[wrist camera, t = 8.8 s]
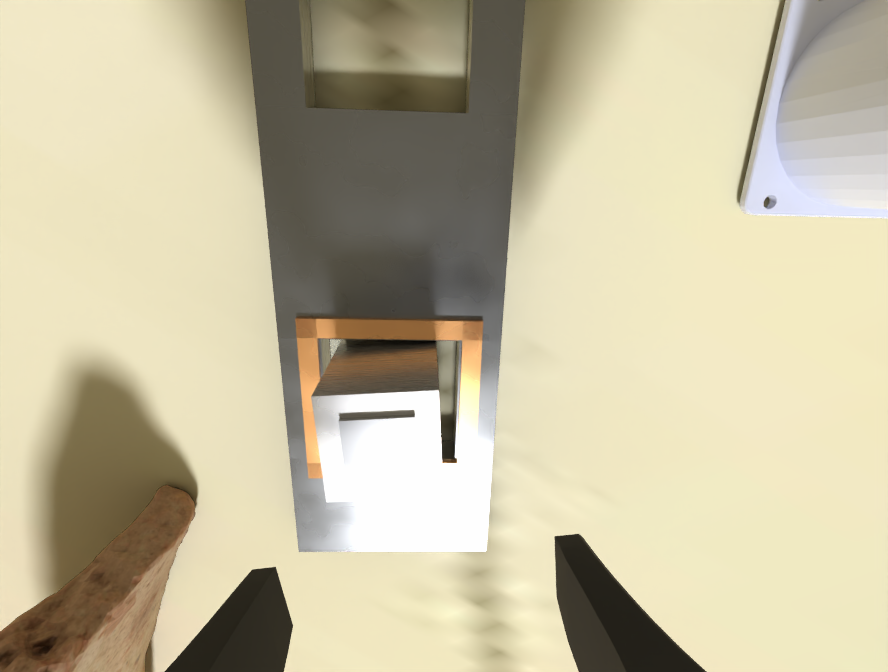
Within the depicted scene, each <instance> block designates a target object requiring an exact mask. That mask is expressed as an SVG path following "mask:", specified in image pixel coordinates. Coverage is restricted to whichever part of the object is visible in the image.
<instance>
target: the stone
mask: <svg viewBox="0 0 888 672" xmlns="http://www.w3.org/2000/svg"><path fill="white" fill-rule="evenodd" d="M194 516H195V504H194V501H193V500H192V498H191V497H190V496H189V494H188V493H186V492H185V491H183V490H181V489H176V488H173V487H171V486H168V485H165V486H162V487H160V488H159V489H158V490H157V492H156V494H155V496H154V497H153V499H152V501H151V502H150V503H149V504H148V506H147V507H146V508H145V509H144V510H143V512H142V513H141V514H140V515H139V516H138V517H137V518H136V520H135V521H134V522H133V523H132V524H131V525H130V526H129V527H128V528H127V529H126V530H125V531H123V532H122V533H121V534H120V535H118V536H117V537H116V538H115V539H114V540H113V541H112V542H111V543H110V544H109V545H107V546H106V547H105V548H104V549H103V550H102V551H101V552H100V553H99V554H98V555H97V556H96V558H95V559H94V561H93V562H92V563H91V564H90V565H89V566H88V567H87V568H85V569H84V570H83V571H82V572H81V573H80V574H78V575H77V576H76V577H75V578H73V579H72V580H71V581H70V582H69V583H68V584H66V585H65V586H64V587H63V588H62V589H61V590H59V591H58V592H57V593H55V594H53V595H51V596H49V597H47V598H46V599H44V600H43V601H42V602H40V603H39V604H37V605H36V606H34V607H33V608H31V609H30V610H28V611H27V612H25V613H23V614H22V615H20V616H19V617H17V618H16V619H15V620H14V621H13V622H12V623H11V624H9V625H8V626H7V627H6V628H4V629H3V630H2V631H1V632H0V672H145V654H146V651H147V648H148V645H149V642H150V640H151V637H152V635H153V632H154V630H155V626H156V621H157V615H158V612H159V609H160V605H161V598H162V596H163V594H164V591H165V586H166V582H167V580H168V579H169V577H168V576H169V571H170V568H171V566H172V564H173V562H174V558H175V557H176V552H177V549H178V547H179V546H180V544H181V543H182V540H183V538H184V536H185V535H186V533H187V532H188V528H189V525H190V523H191V521H192V520H193V518H194Z"/></svg>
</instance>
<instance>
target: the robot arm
mask: <svg viewBox="0 0 888 672" xmlns="http://www.w3.org/2000/svg"><path fill="white" fill-rule="evenodd" d="M767 197H769V198H770V202H769V204H768V206H767V207H764V200H765V198H767ZM740 208H741V211H743V212H744V213H746V214H751V215H780V216H819V217H858V218H888V0H819V1H818V0H785V5H784V9H783V14H782V18H781V22H780V27H779V31H778V36H777V40H776V44H775V49H774V53H773V58H772V62H771V66H770V71H769V75H768V80H767V84H766V88H765V93H764V97H763V102H762V106H761V110H760V115H759V119H758V124H757V128H756V132H755V137H754V141H753V146H752V150H751V154H750V159H749V163H748V168H747V172H746V176H745V181H744V185H743V190H742V194H741V198H740ZM555 560H556V589H557V600H558V604H559V608H560V612H561V616H562V620H563V624H564V628H565V631H566V635H567V639H568V642H569V645H570V648H571V651H572V654H573V657H574V659H575V662H576V665H577V668H578V670H579V672H706V671H705V670H704V669H703V668H702V667H701V666H699V665H698V664H697V663H696V662H695V661H694V660H693V659H692V658H691V657H690V656H689V655H688V654H687V653H685V652H684V651H683V650H682V649H681V648H680V647H679V646H678V645H677V644H676V643H675V642H674V641H673V640H672V639H671V638H670V637H669V636H668V635H667V634H666V633H665V632H664V631H663V630H662V629H661V628H660V627H659V626H658V625H657V624H656V623H655V622H654V621H653V620H652V619H651V618H650V616H649V615H648V614H647V613H646V612H645V611H644V610H643V609H642V608H641V607H640V606H639V605H638V603H637V602H636V601H635V600H634V599H633V598H632V597H631V596H630V595H629V594H628V592H627V591H626V590H625V589H624V588H623V587H622V586H621V584H620V583H619V582H618V581H617V580H616V579H615V578H614V576H613V575H612V574H611V573H610V571H609V570H608V569H607V568H606V567H605V565H604V564H603V563H602V562H601V560H600V559H599V558H598V557H597V555H596V554H595V553H594V552H593V550H592V549H591V548H590V546H589V545H588V544H587V542H586V541H585V540H584V538H583V537H582V536H580V535H579V534H573V535H564V536H555ZM292 628H293V624H292V621H291V618H290V614H289V611H288V607H287V604H286V601H285V597H284V594H283V590H282V587H281V584H280V580H279V577H278V573H277V570H276V567H272V568H263V569H254V570H252V571H251V572H250V573H249V574H248V575H247V576H246V578H245V579H244V580H243V581H242V582H241V583H240V585H239V586H238V587H237V588H236V589H235V591H234V592H233V593H232V594H231V595H230V597H229V598H228V599H227V600H226V601H225V603H224V604H223V605H222V606H221V607H220V609H219V610H218V611H217V612H216V613H215V614H214V616H213V617H212V618H211V619H210V620H209V622H208V623H207V624H206V625H205V626H204V627H203V629H202V630H201V631H200V632H199V633H198V634H197V636H196V637H195V638H194V639H193V640H192V641H191V643H190V644H189V645H188V646H187V647H186V648H185V650H184V651H183V652H182V653H181V654H180V655H179V656H178V658H177V659H176V660H175V661H174V662H173V663H172V664H171V665H170V666H169V667H168V668H167V670H166V671H165V672H284V668H285V663H286V658H287V654H288V649H289V644H290V638H291V633H292Z"/></svg>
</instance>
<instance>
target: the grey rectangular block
mask: <svg viewBox="0 0 888 672" xmlns="http://www.w3.org/2000/svg"><path fill="white" fill-rule="evenodd" d="M311 400H312V407H313V413H314V420H315V427H316V434H317V441H318V448H319V455H320V462H321V468H322V475H323V482H324V489H325V496H326V502H342V501H361V500H380V499H399V498H418V497H436V496H443V474H442V451H441V428H440V405H439V384H438V366H437V348H436V341H429V340H357V339H342V341H341V343H340V344H339V346H338V348H337V350H336V352H335V354H334V355H333V357H332V359H331V361H330V363H329V365H328V366H327V368H326V370H325V372H324V374H323V376H322V377H321V379H320V381H319V383H318V385H317V387H316V388H315V390H314V392H313V394H312V396H311Z"/></svg>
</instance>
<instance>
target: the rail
mask: <svg viewBox="0 0 888 672" xmlns="http://www.w3.org/2000/svg"><path fill="white" fill-rule="evenodd" d="M245 2H246V12H247V22H248V33H249V43H250V53H251V64H252V74H253V84H254V95H255V105H256V115H257V126H258V136H259V146H260V156H261V167H262V177H263V187H264V198H265V208H266V218H267V229H268V239H269V249H270V260H271V270H272V280H273V290H274V301H275V311H276V321H277V332H278V342H279V352H280V363H281V373H282V383H283V394H284V404H285V414H286V424H287V435H288V445H289V455H290V466H291V476H292V486H293V497H294V507H295V517H296V528H297V538H298V548H299V552H378V551H486V547H487V533H488V518H489V504H490V490H491V476H492V462H493V448H494V434H495V420H496V406H497V392H498V378H499V363H500V349H501V335H502V321H503V307H504V293H505V279H506V265H507V251H508V237H509V223H510V208H511V194H512V180H513V166H514V152H515V138H516V124H517V110H518V96H519V82H520V67H521V53H522V39H523V25H524V11H525V0H470V7H469V34H468V61H467V87H466V113H448V112H418V111H389V110H360V109H330V108H316V101H315V84H314V67H313V50H312V33H311V16H310V0H245ZM329 339H357V340H429V341H457V353H456V379H455V406H454V432H453V441H441V451H442V474H443V496H436V497H418V498H399V499H380V500H361V501H342V502H326V496H325V489H324V482H323V475H322V468H321V462H320V455H319V448H318V441H317V434H316V427H315V420H314V413H313V407H312V400H311V396H312V394H313V392H314V390H315V388H316V387H317V385H318V383H319V381H320V379H321V377H322V376H323V374H324V372H325V370H326V368H327V366H328V365H329V363H330V361H331V358H330V341H329Z"/></svg>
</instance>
